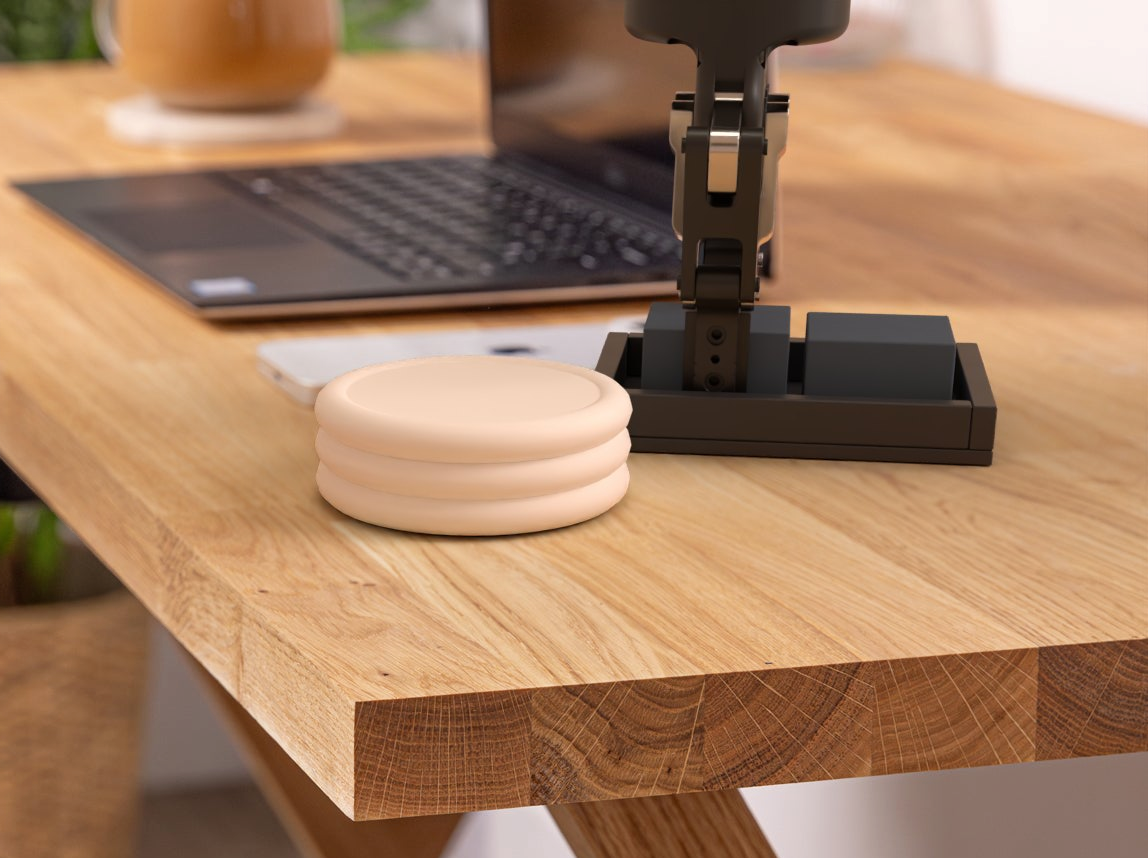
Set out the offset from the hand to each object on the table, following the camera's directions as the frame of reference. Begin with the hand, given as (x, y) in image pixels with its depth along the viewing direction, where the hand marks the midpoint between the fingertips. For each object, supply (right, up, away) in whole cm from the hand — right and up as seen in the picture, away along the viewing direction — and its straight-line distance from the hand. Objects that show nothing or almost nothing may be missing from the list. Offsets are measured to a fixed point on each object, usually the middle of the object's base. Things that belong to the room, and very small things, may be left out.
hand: (715, 396), depth 81 cm
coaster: (-9, -5, -8) cm, 13 cm away
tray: (+2, -1, 0) cm, 3 cm away
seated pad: (+5, -1, -1) cm, 6 cm away
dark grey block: (0, 0, 0) cm, 0 cm away
